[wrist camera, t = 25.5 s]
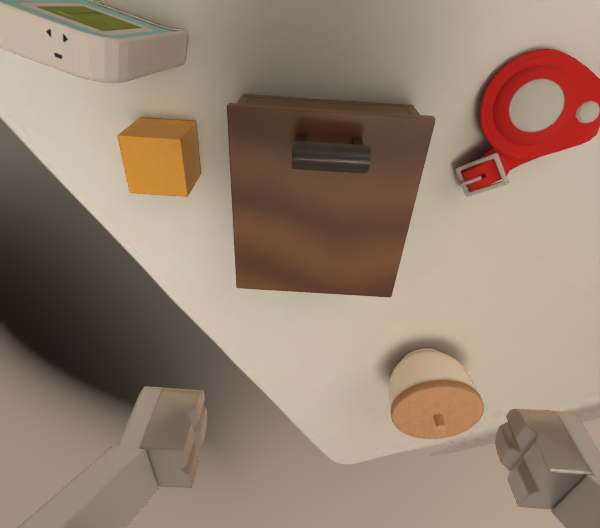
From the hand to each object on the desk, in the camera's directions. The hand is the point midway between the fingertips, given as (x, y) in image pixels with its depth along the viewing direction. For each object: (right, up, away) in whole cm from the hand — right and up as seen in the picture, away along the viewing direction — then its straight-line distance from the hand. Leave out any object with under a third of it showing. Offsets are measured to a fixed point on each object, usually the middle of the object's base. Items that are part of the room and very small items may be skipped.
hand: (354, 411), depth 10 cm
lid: (0, +8, +22) cm, 24 cm away
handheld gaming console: (-18, +23, +20) cm, 36 cm away
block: (-13, +15, +26) cm, 33 cm away
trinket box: (+15, -9, +42) cm, 46 cm away
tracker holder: (+17, +16, +24) cm, 33 cm away
